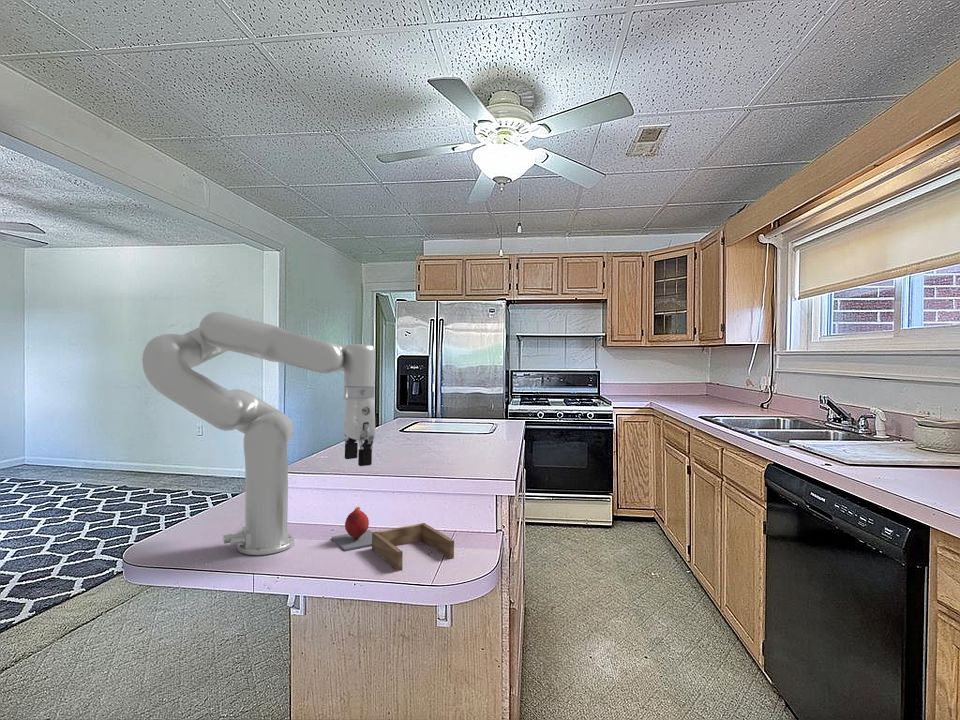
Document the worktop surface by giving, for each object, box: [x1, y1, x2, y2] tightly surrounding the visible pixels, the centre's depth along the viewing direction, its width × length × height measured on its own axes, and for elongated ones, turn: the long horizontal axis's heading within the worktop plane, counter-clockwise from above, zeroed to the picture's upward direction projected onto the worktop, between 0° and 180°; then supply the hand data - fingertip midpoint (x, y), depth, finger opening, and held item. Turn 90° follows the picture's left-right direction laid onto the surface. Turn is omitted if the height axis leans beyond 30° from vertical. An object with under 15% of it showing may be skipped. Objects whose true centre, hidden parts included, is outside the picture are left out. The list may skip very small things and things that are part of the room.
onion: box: [344, 506, 370, 539], centre depth 131 cm, size 6×6×8 cm
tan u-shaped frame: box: [371, 522, 455, 572], centre depth 123 cm, size 14×15×4 cm
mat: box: [331, 529, 373, 552], centre depth 131 cm, size 10×10×1 cm
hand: (357, 461), depth 131 cm, fingers open, 9 cm apart
